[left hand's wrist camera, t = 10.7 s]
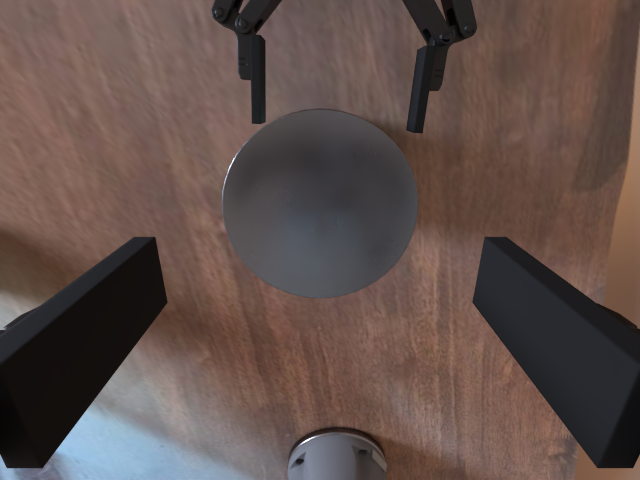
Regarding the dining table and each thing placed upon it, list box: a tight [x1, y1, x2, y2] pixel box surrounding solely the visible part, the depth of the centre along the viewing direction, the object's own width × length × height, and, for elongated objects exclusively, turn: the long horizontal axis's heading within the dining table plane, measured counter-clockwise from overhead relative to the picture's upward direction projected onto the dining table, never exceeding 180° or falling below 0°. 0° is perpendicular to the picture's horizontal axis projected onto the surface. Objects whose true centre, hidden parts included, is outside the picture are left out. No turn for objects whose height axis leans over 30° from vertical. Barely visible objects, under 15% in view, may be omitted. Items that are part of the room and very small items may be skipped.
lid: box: [222, 108, 418, 298], centre depth 20 cm, size 11×11×2 cm
